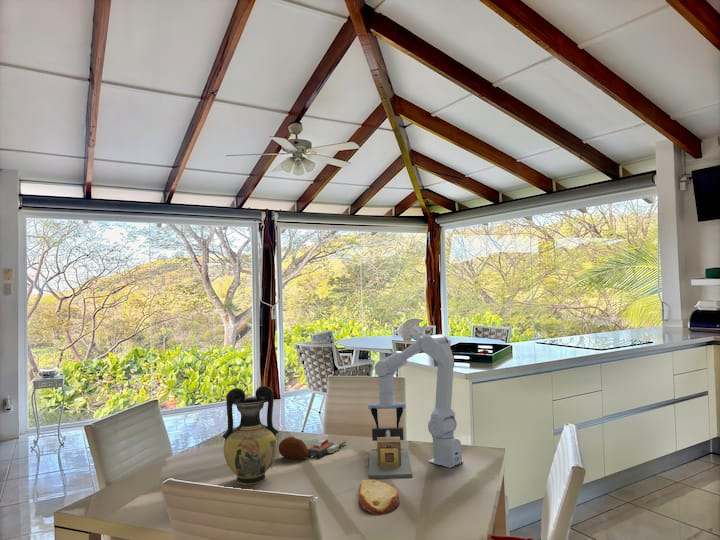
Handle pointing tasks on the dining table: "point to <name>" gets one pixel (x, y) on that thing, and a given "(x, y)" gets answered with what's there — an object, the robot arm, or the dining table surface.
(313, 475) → the dining table surface
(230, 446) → the amphora
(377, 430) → the grey and silver t-piece
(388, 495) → the slice of bread
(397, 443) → the bearing block
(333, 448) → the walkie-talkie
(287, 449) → the potato
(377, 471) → the mat
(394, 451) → the collar
